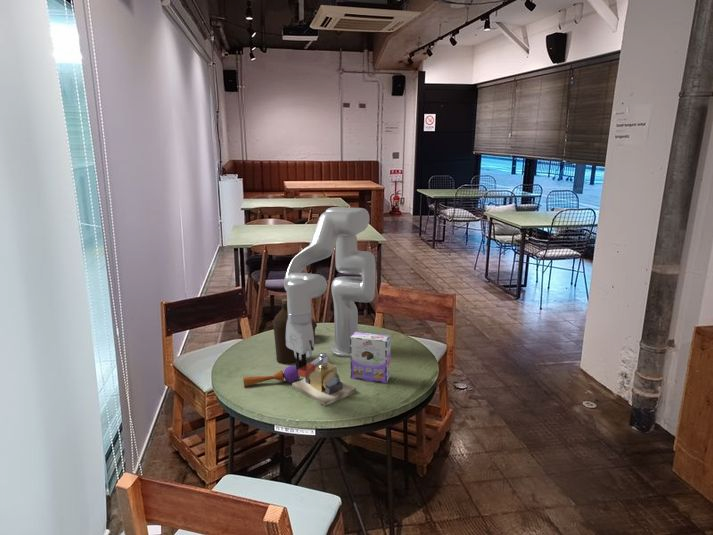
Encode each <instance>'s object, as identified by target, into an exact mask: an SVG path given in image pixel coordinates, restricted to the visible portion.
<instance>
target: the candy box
mask: <svg viewBox="0 0 713 535" xmlns="http://www.w3.org/2000/svg"><path fill="white" fill-rule="evenodd" d="M349 357H350V379H352V378H353V379H354V380H360V381H366V382H368V381H369V382H374V383H381V384H387V383H388V381H389V380H390V378H391V335H385V334H378V333H377V334H376V333H369V332H361V331H358V332H354V334H353V335H352V336H351V337H350V356H349Z"/></svg>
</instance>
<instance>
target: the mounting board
mask: <svg viewBox="0 0 713 535" xmlns="http://www.w3.org/2000/svg"><path fill="white" fill-rule="evenodd" d="M340 382H342V383H343V389H342V390H340V391H338V392H335V393H333V394H331V395H328V394H326V392H325V391H323V392H321V391H319V390H317V389H315V388H313V387H311V385H310V384H308V383H306V382H305V377H303V379H300V380H299V379H298V381H296V382H293V383H291V387H292V388H293V389H294V390H296V391H297V392H300V393H301V394H303V395H305V396H306V397H308V398H309V399H312V400H313V399H314V400H313V401H315V400H316V401H315V402H317V403H318V402H319V403H318V404H320V403H321V404H320V405H322V404H323V405H322V406H324V407H326V405H327V406H329V405H331V404H333V403H336V402H337V400H338V401H340V400H342V399H344V398H346V397H349V396H350V395H352V394H355V393H356V392H357V387H356V386H353V385H351V384H349V383H348V382H346V381H344V380H341V379H340ZM354 392H355V393H354ZM349 394H350V395H349ZM345 396H346V397H345ZM343 397H344V398H343ZM341 398H342V399H341ZM339 399H340V400H339ZM330 403H331V404H330ZM328 404H329V405H328Z"/></svg>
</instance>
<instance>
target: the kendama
mask: <svg viewBox="0 0 713 535" xmlns="http://www.w3.org/2000/svg"><path fill="white" fill-rule="evenodd" d="M300 377H301V376H298V370H297V369H296V365H289V366H287V367H285V369H284V370H283V369H281V370H279V371H278V372H276V373H275V374H274V375H262V376H243V381H242V382H243V386H244V388H245V387H249V386H252V385H257V384H260V383H263V382H267V381H270V380H275V381H281V382H284V381H285V382H287V383H290V384H292V383H295V382H297V381H299V379H300Z"/></svg>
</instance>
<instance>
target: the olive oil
mask: <svg viewBox="0 0 713 535" xmlns="http://www.w3.org/2000/svg"><path fill="white" fill-rule="evenodd" d="M287 320H288V308H287V297H286V298H282V299H281V310H279V311H278V313H277V314H276V315H275V316H274V319H273V323H272V327H273V334H274V335H273V336H274V344H275V357H276V362H278V363H279V364H281V363H282V365H292V363H293V364H296V363H295V362H296V359H297V358H295V356H294V351H293V350H291V349H289V348H288V347H287V346H286V324H287Z"/></svg>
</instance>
